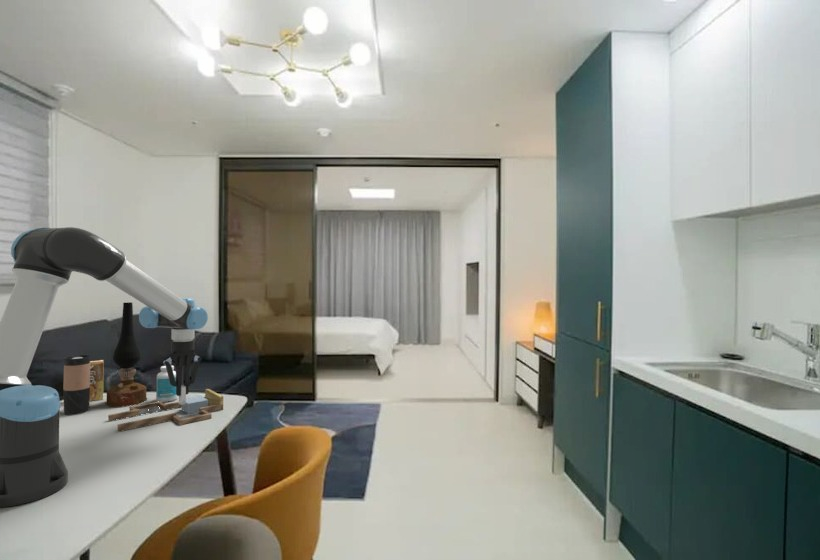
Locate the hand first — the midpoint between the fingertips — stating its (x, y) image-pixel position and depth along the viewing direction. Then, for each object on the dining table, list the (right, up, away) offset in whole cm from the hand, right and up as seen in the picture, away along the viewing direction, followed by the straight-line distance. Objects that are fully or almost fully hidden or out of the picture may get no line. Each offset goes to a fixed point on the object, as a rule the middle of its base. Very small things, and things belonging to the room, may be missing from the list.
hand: (182, 403), depth 156 cm
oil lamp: (-28, -3, +11) cm, 30 cm away
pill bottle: (-14, -3, +14) cm, 20 cm away
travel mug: (-38, -3, -2) cm, 38 cm away
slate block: (+3, -3, +3) cm, 5 cm away
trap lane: (-4, -3, -4) cm, 6 cm away
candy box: (-44, -2, +12) cm, 45 cm away
